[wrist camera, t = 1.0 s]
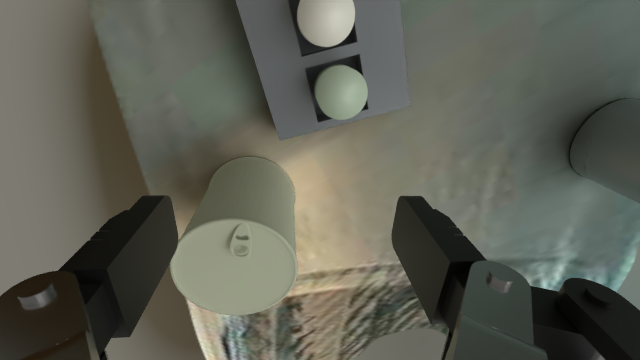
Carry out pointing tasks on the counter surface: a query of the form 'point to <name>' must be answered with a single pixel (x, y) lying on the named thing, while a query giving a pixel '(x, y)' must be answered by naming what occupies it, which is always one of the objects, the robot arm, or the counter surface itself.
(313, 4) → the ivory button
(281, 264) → the can
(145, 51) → the counter surface
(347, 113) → the sage button
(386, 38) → the button panel
